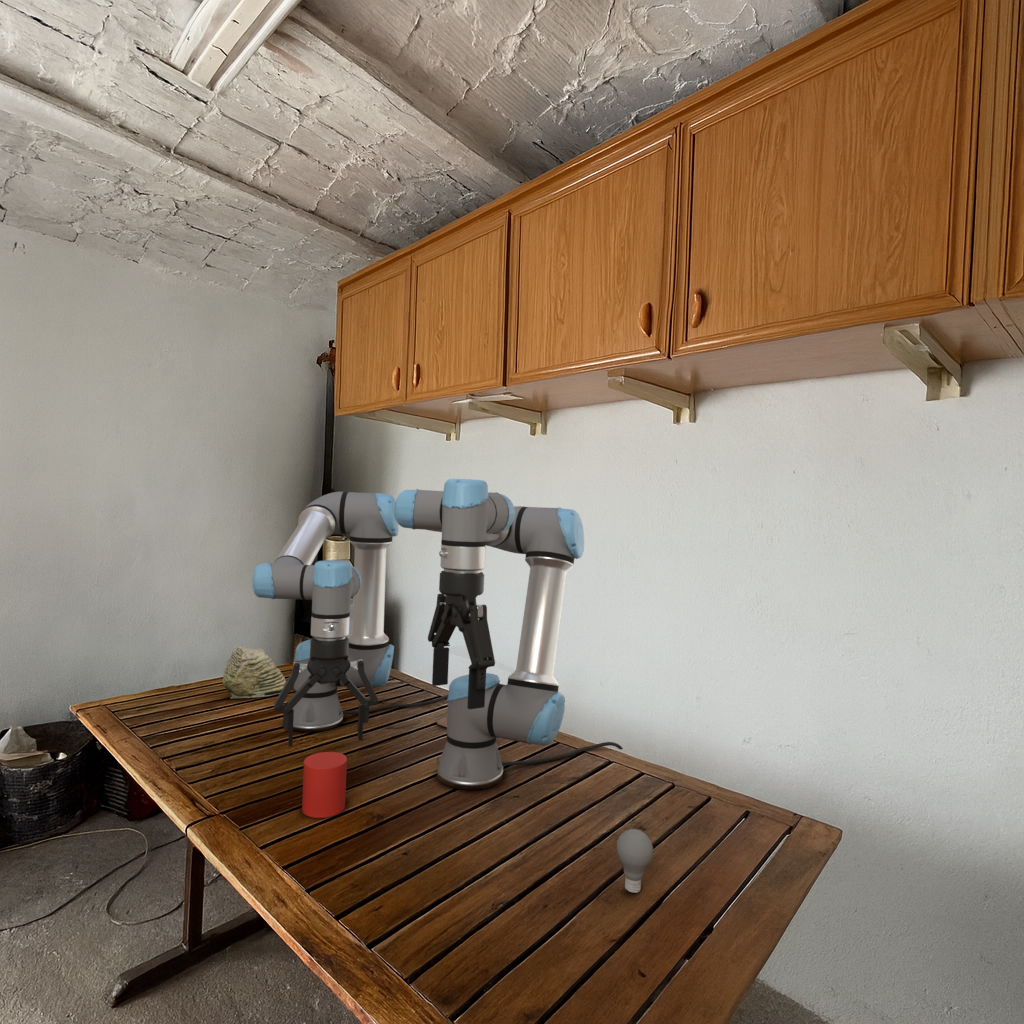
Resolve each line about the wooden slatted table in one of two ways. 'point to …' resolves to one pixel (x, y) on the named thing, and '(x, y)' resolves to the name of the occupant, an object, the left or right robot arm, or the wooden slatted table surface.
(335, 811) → the can
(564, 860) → the wooden slatted table surface
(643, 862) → the light bulb
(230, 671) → the fossil
